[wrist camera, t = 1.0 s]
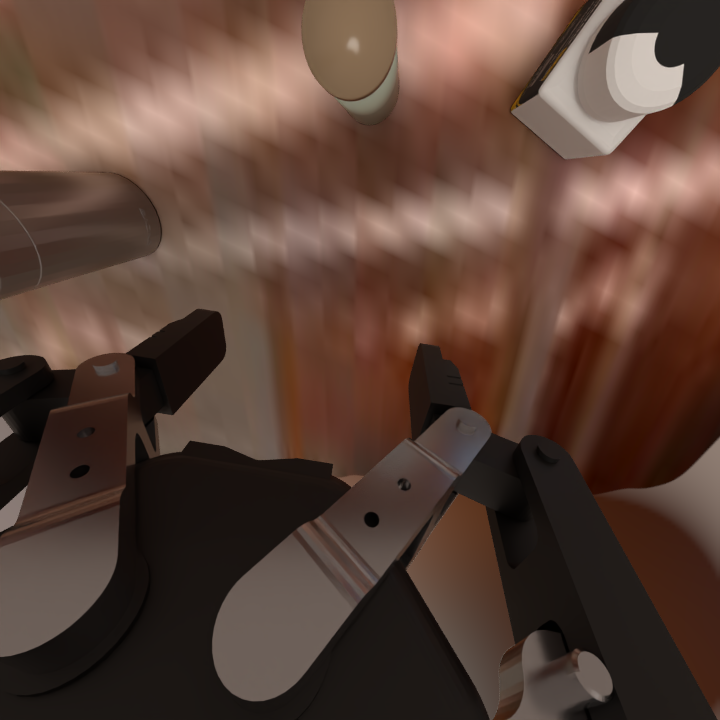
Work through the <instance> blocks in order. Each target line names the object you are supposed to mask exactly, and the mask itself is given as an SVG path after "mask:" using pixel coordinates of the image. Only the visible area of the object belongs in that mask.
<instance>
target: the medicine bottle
mask: <svg viewBox="0 0 720 720" xmlns="http://www.w3.org/2000/svg"><path fill="white" fill-rule="evenodd" d="M719 66H720V0H588V1H587V2H586V3H585V4H584V5H583V6H582V7H581V8H580V9H579V10H578V11H577V13H576V14H575V16H574V17H573V19H572V20H571V22H570V23H569V24H568V26H567V27H566V29H565V30H564V32H563V33H562V35H561V36H560V37H559V39H558V40H557V42H556V43H555V45H554V46H553V48H552V49H551V50H550V52H549V53H548V55H547V56H546V58H545V59H544V61H543V62H542V64H541V65H540V66H539V68H538V69H537V71H536V72H535V74H534V75H533V77H532V78H531V79H530V81H529V82H528V84H527V85H526V87H525V88H524V90H523V91H522V92H521V94H520V95H519V97H518V98H517V100H516V101H515V103H514V104H513V105H512V107H511V113H512V114H513V115H514V116H516V117H517V118H518V119H519V120H520V121H521V122H522V123H524V124H525V125H526V126H527V127H528V128H529V129H531V130H532V131H533V132H534V133H535V134H536V135H537V136H539V137H540V138H541V139H542V140H543V141H544V142H545V143H547V144H548V145H549V146H550V147H551V148H552V149H554V150H555V151H556V152H557V153H558V154H559V155H560V156H562V157H563V158H564V159H574V158H583V157H592V156H601V155H608V154H610V153H611V152H612V151H613V150H614V149H615V148H616V147H617V146H618V145H619V144H620V143H621V142H622V141H623V139H624V138H625V137H626V136H627V135H628V134H629V133H630V132H631V131H632V130H633V129H634V127H635V126H636V125H637V124H638V123H639V122H640V121H641V120H642V119H643V118H644V116H645V115H646V114H650V113H653V112H657V111H660V110H664V109H666V108H668V107H671V106H673V105H675V104H677V103H678V102H680V101H682V100H683V99H685V98H686V97H688V96H689V95H691V94H692V93H693V92H694V91H696V90H697V89H698V88H699V87H700V86H702V85H703V84H704V83H705V82H706V81H707V80H708V79H709V78H710V77H711V75H712V74H713V73H714V72H715V71H716V70H717V69H718V67H719Z"/></svg>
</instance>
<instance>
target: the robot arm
mask: <svg viewBox="0 0 720 720" xmlns="http://www.w3.org/2000/svg"><path fill="white" fill-rule="evenodd" d="M160 238H161V228H160V223H159V219H158V216H157V214H156V211H155V209H154V207H153V206H152V204H151V202H150V201H149V199H148V198H147V197H146V195H145V194H144V193H143V192H142V191H141V190H140V189H139V188H138V187H137V186H136V185H135V184H133V183H132V182H131V181H129V180H128V179H126V178H124V177H122V176H120V175H118V174H113V173H103V172H56V171H0V300H2V299H5V298H8V297H12V296H15V295H18V294H21V293H25V292H27V291H31V290H34V289H37V288H41V287H44V286H47V285H51V284H54V283H57V282H60V281H64V280H67V279H70V278H74V277H77V276H80V275H84V274H87V273H90V272H93V271H97V270H100V269H103V268H107V267H110V266H113V265H117V264H120V263H124V262H127V261H130V260H134V259H137V258H140V257H143V256H147V255H149V254H151V253H153V252H154V251H155V250H156V249H157V247H158V245H159V243H160ZM225 353H226V342H225V335H224V329H223V322H222V317H221V314H220V313H219V312H217V311H210V310H204V309H196V310H195V311H193V312H192V313H191V314H189V315H188V316H186V317H185V318H183V319H181V320H178V321H175V322H172V323H170V324H168V325H167V326H165V327H164V328H162V329H161V330H160V332H156V333H155V334H153V335H152V337H149V338H148V339H146V340H145V341H143V342H142V343H140V344H139V345H137V346H136V347H134V348H133V349H132V350H130V351H129V352H127V353H126V354H124V353H109V354H103V355H99V356H96V357H93V358H90V359H88V360H86V361H84V362H83V363H81V364H80V365H79V366H78V367H77V368H76V369H72V370H51V368H50V367H49V365H48V363H47V361H46V360H45V359H44V358H43V357H40V356H35V355H23V356H15V357H10V358H6V359H2V360H0V417H1V416H2V417H3V419H4V420H5V421H6V422H7V424H8V425H9V426H10V428H11V429H12V430H13V432H14V433H12V434H11V435H10V436H8V437H7V438H6V439H4V440H3V441H2V442H0V510H1V509H2V508H3V507H4V506H5V505H6V504H8V503H9V502H10V501H11V500H12V499H13V498H14V497H15V496H16V495H17V494H18V493H19V492H20V491H22V490H23V489H24V488H25V487H26V486H27V485H28V486H27V489H26V493H25V496H24V500H23V503H22V506H21V509H20V513H19V516H18V519H17V521H16V523H15V525H14V526H12V527H10V528H8V529H6V530H4V531H2V532H0V720H489V717H488V714H487V711H486V709H485V706H484V704H483V702H482V700H481V697H480V695H479V693H478V691H477V689H476V687H475V685H474V684H473V682H472V680H471V679H470V677H469V675H468V673H467V672H466V670H465V669H464V667H463V665H462V663H461V662H460V660H459V658H458V657H457V655H456V653H455V652H454V650H453V648H452V647H451V645H450V643H449V642H448V640H447V638H446V637H445V635H444V633H443V631H442V630H441V628H440V627H439V625H438V623H437V622H436V620H435V618H434V616H433V615H432V613H431V612H430V610H429V608H428V607H427V605H426V603H425V601H424V600H423V598H422V596H421V595H420V593H419V591H418V590H417V588H416V586H415V585H414V583H413V581H412V580H411V578H410V576H409V574H408V573H407V571H406V570H407V569H408V567H409V566H410V565H411V563H412V562H413V560H414V559H415V557H416V556H417V554H418V553H419V551H420V550H421V548H422V546H423V545H424V543H425V542H426V540H427V538H428V537H429V535H430V534H431V532H432V531H433V529H434V528H435V526H436V525H437V524H438V522H439V521H440V519H441V518H442V516H443V515H444V514H445V512H446V511H447V509H448V508H449V507H450V505H451V503H452V502H453V501H454V499H455V498H456V497H457V495H458V494H461V495H464V496H466V497H468V498H470V499H472V500H474V501H476V502H478V503H481V504H483V505H485V506H486V510H487V515H488V520H489V525H490V529H491V534H492V539H493V543H494V548H495V552H496V557H497V561H498V566H499V571H500V576H501V580H502V585H503V589H504V594H505V599H506V603H507V608H508V612H509V617H510V622H511V626H512V631H513V636H514V641H515V645H514V646H512V647H511V648H509V649H508V650H507V651H506V652H505V653H504V655H503V656H502V659H501V661H500V666H499V688H500V697H499V704H498V709H497V712H496V714H495V717H494V718H493V720H717V718H716V716H715V715H714V713H713V711H712V709H711V707H710V706H709V704H708V702H707V700H706V699H705V696H704V695H703V693H702V691H701V689H700V688H699V686H698V684H697V682H696V680H695V678H694V677H693V675H692V673H691V671H690V669H689V668H688V666H687V664H686V662H685V660H684V659H683V657H682V655H681V653H680V651H679V650H678V648H677V646H676V644H675V642H674V641H673V639H672V637H671V635H670V634H669V632H668V630H667V628H666V626H665V624H664V623H663V621H662V619H661V617H660V616H659V614H658V612H657V610H656V608H655V607H654V605H653V603H652V601H651V599H650V598H649V596H648V594H647V592H646V590H645V589H644V587H643V585H642V583H641V581H640V580H639V578H638V576H637V574H636V572H635V571H634V569H633V567H632V565H631V563H630V562H629V560H628V558H627V556H626V555H625V553H624V551H623V549H622V547H621V546H620V544H619V542H618V540H617V538H616V537H615V535H614V533H613V531H612V529H611V527H610V526H609V524H608V522H607V520H606V518H605V517H604V515H603V513H602V511H601V510H600V508H599V506H598V504H597V502H596V501H595V499H594V497H593V495H592V493H591V491H590V490H589V488H588V486H587V484H586V482H585V481H584V479H583V477H582V475H581V473H580V472H579V470H578V468H577V466H576V464H575V463H574V461H573V459H572V458H571V456H570V455H569V454H568V453H567V452H566V451H565V450H564V449H563V448H562V447H561V446H559V445H558V444H557V443H555V442H553V441H551V440H549V439H547V438H545V437H542V436H537V435H527V436H525V437H523V438H522V440H521V441H520V443H519V444H518V443H515V442H512V441H510V440H507V439H505V438H502V437H500V436H497V435H495V434H493V433H491V428H490V426H489V424H488V423H487V421H486V420H485V419H484V418H483V417H482V416H480V415H479V414H477V413H476V412H474V411H472V410H471V407H470V404H469V401H468V398H467V395H466V392H465V389H464V387H463V383H462V380H461V376H460V373H459V370H458V368H457V367H456V366H455V365H454V364H453V363H452V362H451V361H450V360H444V359H442V355H441V351H440V348H439V346H434V345H428V344H421V343H420V344H419V346H418V350H417V353H416V357H415V360H414V364H413V367H412V371H411V375H410V379H409V402H410V416H411V430H412V439H411V438H407V439H405V440H404V441H403V442H402V443H400V444H399V445H398V446H397V447H396V448H395V449H394V450H393V451H392V452H390V453H389V454H388V455H387V456H386V457H385V458H384V459H383V460H382V461H381V462H379V463H378V464H377V465H376V466H375V467H374V468H373V469H372V470H371V471H369V472H368V473H367V474H366V475H365V476H364V477H363V478H362V479H361V480H360V481H359V482H357V483H356V484H355V485H354V486H353V487H350V486H349V485H348V484H346V483H345V482H343V481H342V480H340V479H338V478H336V477H334V476H332V468H333V464H330V463H323V462H317V461H311V460H305V459H299V458H294V459H276V460H255V459H253V458H250V457H248V456H246V455H243V454H241V453H239V452H237V451H234V450H232V449H230V448H227V447H225V446H219V445H213V444H207V443H201V442H195V441H189V443H188V444H187V445H186V447H185V448H184V449H183V451H182V452H176V453H169V454H165V455H160V447H159V435H158V423H157V420H156V417H155V414H156V413H163V414H169V415H174V413H175V412H176V411H177V410H178V409H179V408H180V407H181V406H182V405H183V403H184V402H185V401H186V400H187V399H188V398H189V397H190V396H191V395H192V394H193V392H194V391H195V390H196V389H197V388H198V387H199V386H200V385H201V384H202V382H203V381H204V380H205V379H206V378H207V377H208V376H209V375H210V374H211V372H212V371H213V370H214V369H215V368H216V367H217V366H218V365H219V364H220V362H221V361H222V360H223V358H224V356H225Z"/></svg>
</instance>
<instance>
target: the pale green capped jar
mask: <svg viewBox="0 0 720 720" xmlns="http://www.w3.org/2000/svg"><path fill="white" fill-rule="evenodd" d="M302 43H303V49H304V53H305V57H306V60H307V63H308V66H309V68H310V70H311V72H312V74H313V75H314V77H315V78H316V80H317V81H318V82H319V84H320V85H321V86H322V87H323V88H324V89H325V90H326V91H327V92H328V93H329V94H331V95H332V96H334V97H335V99H336V100H337V101H338V102H339V103H340V104H341V105H342V106H343V107H344V108H345V110H346V111H347V112H348V113H349V114H350V115H351V116H352V117H353V118H354V119H355V120H356V121H357V122H359V123H361V124H364V125H375V124H378V123H380V122H382V121H383V120H385V119H386V118H387V117H388V116H389V115H390V113H391V112H392V110H393V109H394V107H395V104H396V102H397V99H398V94H399V71H398V57H397V19H396V11H395V6H394V1H393V0H306V1H305V5H304V10H303V15H302Z"/></svg>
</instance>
